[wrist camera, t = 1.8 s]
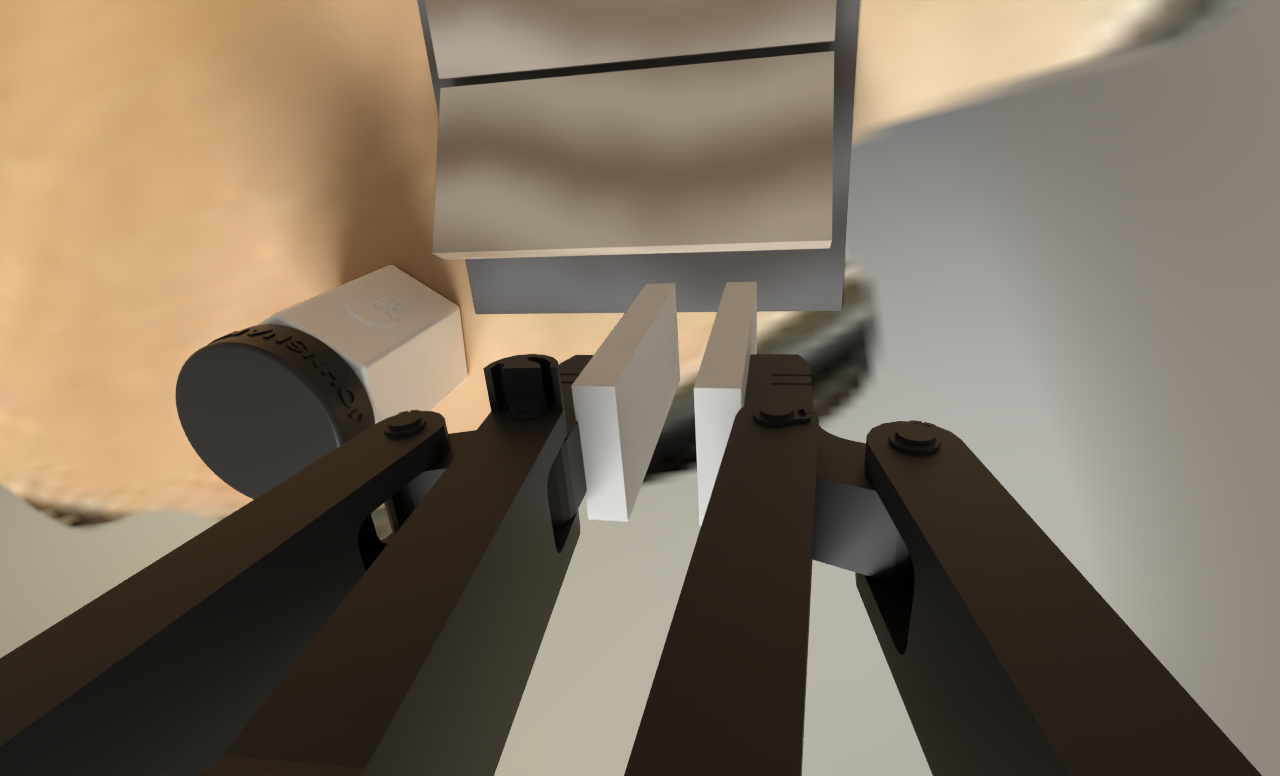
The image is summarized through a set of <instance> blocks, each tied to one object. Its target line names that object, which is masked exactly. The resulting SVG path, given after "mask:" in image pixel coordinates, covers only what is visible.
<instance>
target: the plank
mask: <svg viewBox="0 0 1280 776" xmlns="http://www.w3.org/2000/svg"><path fill="white" fill-rule="evenodd" d="M833 115H834V51H829V52H819V53H808V54H797V55H787V56H776V57H766V58H755V59H744V60H734V61H723V62H712V63H702V64H691V65H680V66H670V67H659V68H648V69H638V70H627V71H616V72H606V73H595V74H584V75H574V76H563V77H553V78H542V79H531V80H521V81H510V82H499V83H489V84H478V85H467V86H457V87H446V88H441V90H440V109H439V129H438V148H437V167H436V187H435V206H434V225H433V245H432V253H433V254H435V255H436V256H438V257H440V258H442V259H444V260H452V259H486V258H520V257H554V256H588V255H621V254H655V253H689V252H723V251H757V250H790V249H824V248H830V246H831V242H832V197H833Z"/></svg>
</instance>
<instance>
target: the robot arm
mask: <svg viewBox="0 0 1280 776" xmlns="http://www.w3.org/2000/svg"><path fill="white" fill-rule="evenodd" d="M484 374H485V379H486V385H487V390H488V395H489V401H490V406H491V413H490V414H489V415H488V416H487V418H486V419H485V420H484V422H483V423H482V424H481V425H480V427H479V428H478V429H477V430H475V431H467V432H460V433H452V434H448V431H447V427H446V422H445V418H444V417H443V416H442V415H441V414H439V413H436V412H432V411H420V410H410V412H409V411H404V412H400V413H398V415H395V416H392V417H388V418H386V419H384V420H382V421H380V422H378V423H376V424H375V425H373V426H371V427H370V428H368V429H367V430H365V431H363V432H362V433H360V434H359V435H357V436H355V437H354V438H352V439H351V440H349V441H347V442H346V443H344V444H343V445H341V446H339V447H338V448H336V449H335V450H333V451H331V452H330V453H328V454H327V455H325V456H323V457H322V458H320V459H319V460H317V461H315V462H314V463H312V464H311V465H309V466H307V467H306V468H304V469H303V470H301V471H299V472H298V473H296V474H295V475H293V476H291V477H290V478H288V479H287V480H285V481H283V482H282V483H280V484H279V485H277V486H275V487H274V488H272V489H271V490H269V491H267V492H266V493H264V494H263V495H261V496H259V497H258V498H256V499H255V500H253V501H251V502H250V503H248V504H247V505H245V506H243V507H242V508H240V509H239V510H237V511H235V512H234V513H232V514H231V515H229V516H227V517H226V518H224V519H223V520H221V521H219V522H218V523H216V524H215V525H213V526H212V527H210V528H208V529H207V530H205V531H203V532H202V533H200V534H199V535H197V536H195V537H194V538H192V539H191V540H189V541H187V542H186V543H184V544H183V545H181V546H179V547H178V548H176V549H175V550H173V551H172V552H170V553H168V554H167V555H165V556H164V557H162V558H160V559H159V560H157V561H156V562H154V563H152V564H151V565H149V566H148V567H146V568H144V569H143V570H141V571H139V572H138V573H136V574H135V575H133V576H131V577H130V578H128V579H127V580H125V581H123V582H122V583H120V584H119V585H117V586H115V587H114V588H112V589H111V590H109V591H108V592H106V593H104V594H103V595H101V596H100V597H98V598H96V599H95V600H93V601H92V602H90V603H88V604H87V605H85V606H83V607H82V608H80V609H79V610H77V611H75V612H74V613H72V614H71V615H69V616H68V617H66V618H64V619H63V620H61V621H59V622H58V623H56V624H55V625H53V626H51V627H50V628H48V629H47V630H45V631H44V632H42V633H41V634H39V635H37V636H36V637H34V638H32V639H31V640H29V641H28V642H26V643H24V644H23V645H21V646H20V647H18V648H16V649H15V650H13V651H12V652H10V653H8V654H7V655H5V656H4V657H2V658H0V776H494V774H495V771H496V768H497V765H498V762H499V760H500V757H501V754H502V751H503V748H504V746H505V742H506V740H507V737H508V734H509V731H510V729H511V726H512V723H513V720H514V718H515V715H516V712H517V709H518V706H519V703H520V701H521V698H522V695H523V692H524V690H525V687H526V684H527V681H528V678H529V675H530V673H531V670H532V667H533V664H534V661H535V659H536V656H537V653H538V650H539V647H540V644H541V642H542V639H543V636H544V633H545V631H546V628H547V625H548V622H549V619H550V616H551V614H552V611H553V608H554V605H555V603H556V600H557V597H558V594H559V591H560V588H561V586H562V583H563V580H564V577H565V574H566V572H567V569H568V566H569V563H570V560H571V557H572V555H573V552H574V549H575V546H576V544H577V541H578V538H579V535H580V521H579V513H578V508H579V506H580V504H581V502H582V500H583V498H584V496H586V504H587V511H588V519H591V520H608V521H623V522H628V520H629V518H630V514H631V512H632V509H633V507H634V504H635V501H636V498H637V496H638V493H639V490H640V488H641V485H642V482H643V479H644V477H645V474H646V471H647V469H648V466H649V463H650V460H651V458H652V455H653V452H654V450H655V447H656V444H657V441H658V439H659V436H660V433H661V430H662V428H663V425H664V422H665V420H666V417H667V414H668V411H669V409H670V406H671V403H672V401H673V398H674V395H675V392H676V390H677V387H678V384H679V381H680V368H679V349H678V330H677V310H676V291H675V283H667V284H646V285H645V287H644V288H643V289H642V291H641V292H640V293H639V295H638V296H637V297H636V299H635V300H634V302H633V303H632V304H631V306H630V307H629V308H628V310H627V311H626V312H625V314H624V315H623V316H622V318H621V319H620V321H619V322H618V323H617V325H616V326H615V327H614V329H613V330H612V331H611V333H610V334H609V335H608V337H607V338H606V340H605V341H604V342H603V344H602V345H601V346H600V348H599V349H598V350H597V352H596V353H595V354H594V355H575V356H573V357H572V358H570V359H568V360H566V361H564V362H562V363H560V364H559V365H558V361H557V360H555V359H554V358H553V357H550V356H546V355H537V354H527V355H517V356H512V357H508V358H503V359H501V360H498V361H496V362H493V363H491V364H489V365H488V366H487V367H485V368H484ZM694 403H695V427H696V450H697V474H698V497H699V521H700V526H701V529H700V532H699V535H698V539H697V542H696V545H695V548H694V552H693V555H692V558H691V561H690V565H689V568H688V571H687V574H686V577H685V581H684V584H683V587H682V590H681V594H680V597H679V600H678V603H677V606H676V610H675V613H674V616H673V620H672V623H671V626H670V629H669V632H668V635H667V639H666V642H665V645H664V649H663V652H662V655H661V658H660V661H659V665H658V668H657V671H656V674H655V678H654V681H653V684H652V687H651V690H650V694H649V697H648V700H647V703H646V707H645V710H644V713H643V716H642V719H641V723H640V726H639V729H638V732H637V736H636V739H635V742H634V745H633V749H632V752H631V755H630V758H629V761H628V765H627V768H626V771H625V775H624V776H802V758H803V738H804V718H805V697H806V677H807V657H808V637H809V635H808V634H809V616H810V596H811V577H812V559H813V560H816V561H820V562H823V563H826V564H830V565H833V566H837V567H840V568H843V569H847V570H850V571H853V572H856V574H855V575H856V585H857V588H858V591H859V593H860V596H861V598H862V601H863V603H864V606H865V608H866V610H867V613H868V615H869V618H870V621H871V623H872V625H873V628H874V630H875V633H876V635H877V638H878V640H879V643H880V645H881V648H882V650H883V653H884V655H885V658H886V660H887V663H888V665H889V668H890V670H891V673H892V675H893V678H894V680H895V683H896V685H897V688H898V690H899V693H900V695H901V698H902V700H903V702H904V705H905V707H906V710H907V712H908V715H909V717H910V719H911V722H912V725H913V727H914V730H915V732H916V735H917V737H918V740H919V742H920V745H921V747H922V749H923V752H924V755H925V757H926V759H927V762H928V765H929V767H930V769H931V772H932V774H933V776H1262V775H1261V774H1260V773H1259V772H1258V771H1257V770H1256V768H1255V767H1254V766H1253V765H1252V764H1251V763H1250V762H1249V761H1248V760H1247V759H1246V757H1245V756H1244V755H1243V754H1242V753H1241V752H1240V751H1239V749H1238V748H1237V747H1236V746H1235V745H1234V744H1233V743H1232V742H1231V741H1230V740H1229V738H1228V737H1227V736H1226V735H1225V734H1224V733H1223V732H1222V730H1221V729H1220V728H1219V727H1218V726H1217V725H1216V724H1215V723H1214V722H1213V720H1212V719H1211V718H1210V717H1209V716H1208V715H1207V714H1206V713H1205V712H1204V710H1203V709H1202V708H1201V707H1200V706H1199V705H1198V704H1197V703H1196V702H1195V701H1194V699H1193V698H1192V697H1191V696H1190V695H1189V694H1188V693H1187V691H1186V690H1185V689H1184V688H1183V687H1182V686H1181V685H1180V684H1179V682H1178V681H1177V680H1176V679H1175V678H1174V677H1173V676H1172V675H1171V674H1170V672H1169V671H1168V670H1167V669H1166V668H1165V667H1164V666H1163V665H1162V664H1161V662H1160V661H1159V660H1158V659H1157V658H1156V657H1155V656H1154V655H1153V653H1152V652H1151V651H1150V650H1149V649H1148V648H1147V647H1146V646H1145V645H1144V643H1143V642H1142V641H1141V640H1140V639H1139V638H1138V637H1137V636H1136V635H1135V633H1134V632H1133V631H1132V630H1131V629H1130V628H1129V627H1128V625H1126V623H1125V622H1124V621H1123V620H1122V619H1121V618H1120V617H1119V615H1118V614H1117V613H1116V612H1115V611H1114V610H1113V609H1112V608H1111V607H1110V605H1109V604H1108V603H1107V602H1106V601H1105V600H1104V599H1103V598H1102V596H1101V595H1100V594H1099V593H1098V592H1097V591H1096V590H1095V589H1094V588H1093V586H1092V585H1091V584H1090V583H1089V582H1088V581H1087V580H1086V579H1085V577H1084V576H1083V575H1082V574H1081V573H1080V572H1079V571H1078V570H1077V569H1076V567H1075V566H1074V565H1073V564H1072V563H1071V562H1070V561H1069V560H1068V559H1067V557H1066V556H1065V555H1064V554H1063V553H1062V552H1061V551H1060V549H1059V548H1058V547H1057V546H1056V545H1055V544H1054V543H1053V542H1052V541H1051V539H1050V538H1049V537H1048V536H1047V535H1046V534H1045V533H1044V532H1043V530H1042V529H1041V528H1040V527H1039V526H1038V525H1037V524H1036V523H1035V522H1034V520H1033V519H1032V518H1031V517H1030V516H1029V515H1028V514H1027V513H1026V511H1024V509H1023V508H1022V507H1021V506H1020V505H1019V504H1018V503H1017V501H1016V500H1015V499H1014V498H1013V497H1012V496H1011V495H1010V494H1009V493H1008V491H1007V490H1006V489H1005V488H1004V487H1003V486H1002V485H1001V484H1000V482H999V481H998V480H997V479H996V478H995V477H994V476H993V475H992V473H991V472H990V471H989V470H988V469H987V468H986V467H985V466H984V465H983V464H982V462H981V461H980V460H979V459H978V458H977V457H976V456H975V454H974V453H973V452H972V451H971V450H970V449H969V448H968V447H967V446H966V444H965V443H964V442H963V441H962V440H961V439H960V438H958V437H957V436H956V435H954V434H953V433H952V432H950V431H947V430H945V429H943V428H940V427H937V426H935V425H934V424H930V423H926V422H924V423H922V422H921V421H909V422H906V421H898V422H891V423H884V424H881V425H879V426H877V427H875V428H872V429H871V431H870V432H869V433H868V435H867V441H866V444H865V443H860V442H855V441H851V440H846V439H843V438H839V437H837V436H834V435H832V434H830V433H828V432H826V431H825V430H823V429H822V428H821V427H820V426H819V419H818V416H817V414H816V412H815V411H814V406H813V396H812V386H811V377H810V365H809V363H808V362H807V361H805V360H804V359H803V358H802V357H801V356H799V355H788V354H757V282H727V283H726V286H725V289H724V292H723V295H722V299H721V302H720V305H719V308H718V312H717V315H716V318H715V321H714V325H713V328H712V331H711V334H710V337H709V341H708V344H707V347H706V350H705V354H704V357H703V360H702V363H701V366H700V370H699V373H698V376H697V379H696V383H695V386H694ZM383 503H384V504H385V507H386V511H387V514H388V518H389V522H390V525H391V529H392V532H393V533H391V534H390V535H389V536H388V537H387V538H385V539H383V540H381V541H380V539H379V538H378V536H377V534H376V530H375V527H374V523H373V520H372V517H371V513H372V512H373V511H374V510H375V509H377V508H378V507H379V506H381V505H382V504H383Z"/></svg>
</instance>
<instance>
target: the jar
mask: <svg viewBox="0 0 1280 776" xmlns="http://www.w3.org/2000/svg"><path fill="white" fill-rule="evenodd" d="M467 378H468V374H467V366H466V358H465V349H464V341H463V333H462V324H461V316H460V308H459V307H458V306H457V305H456V304H454V303H453V302H451V301H450V300H448V299H446V298H445V297H443V296H442V295H440V294H438V293H437V292H435V291H434V290H432V289H430V288H429V287H427V286H426V285H424V284H422V283H421V282H419V281H418V280H416V279H414V278H413V277H411V276H410V275H408V274H406V273H405V272H403V271H402V270H400V269H398V268H397V267H395V266H393V265H388V266H385V267H383V268H381V269H378V270H376V271H374V272H371V273H369V274H366V275H364V276H362V277H359V278H357V279H355V280H352V281H350V282H348V283H345V284H343V285H341V286H338V287H336V288H333V289H331V290H329V291H326V292H324V293H322V294H319V295H317V296H315V297H312V298H310V299H307V300H305V301H303V302H300V303H298V304H296V305H293V306H291V307H288V308H286V309H284V310H281V311H279V312H277V313H275V314H273V315H272V316H270V317H269V318H267V319H266V320H264V321H263V322H261V323H260V324H258V325H256V326H252V327H249V328H247V329H244V330H241V331H235V332H232V333H230V334H228V335H225V336H223V337H221V338H218V339H216V340H214V341H213V342H211V343H210V344H208V345H207V346H205V347H203V348H201V349H199V350H198V351H196V352H195V353H194V354H193V355H191V356H190V357H189V358H188V360H187V361H186V362H185V364H184V365H183V367H182V369H181V371H180V373H179V376H178V380H177V384H176V406H177V412H178V415H179V419H180V422H181V425H182V427H183V430H184V432H185V434H186V436H187V438H188V440H189V442H190V443H191V445H192V447H193V448H194V450H195V451H196V453H197V454H198V455H199V457H200V458H201V459H202V460H203V462H204V463H205V464H206V465H207V466H208V467H209V468H210V469H211V470H212V471H213V472H214V473H215V474H216V475H217V476H218V477H219V478H221V479H222V480H223V481H224V482H225V483H227V484H228V485H230V486H231V487H232V488H234V489H235V490H237V491H239V492H240V493H242V494H244V495H246V496H248V497H250V498H252V499H254V500H255V499H256V498H258V497H259V496H261V495H263V494H264V493H266V492H267V491H269V490H271V489H272V488H274V487H275V486H277V485H279V484H280V483H282V482H283V481H285V480H287V479H288V478H290V477H291V476H293V475H295V474H296V473H298V472H299V471H301V470H303V469H304V468H306V467H307V466H309V465H311V464H312V463H314V462H315V461H317V460H319V459H320V458H322V457H323V456H325V455H327V454H328V453H330V452H331V451H333V450H335V449H336V448H338V447H339V446H341V445H343V444H344V443H346V442H347V441H349V440H351V439H352V438H354V437H355V436H357V435H359V434H360V433H362V432H363V431H365V430H367V429H368V428H370V427H371V426H373V425H375V424H376V423H378V422H380V421H382V420H384V419H386V418H388V417H392V416H395V415H398V413H400V412H404V411H409V412H410V410H420V411H432V410H433V409H434V408H435V407H436V406H438V405H439V404H440V403H441V402H442V401H443V400H444V399H445V398H447V397H448V396H449V395H450V394H451V393H452V392H453V391H454V390H456V389H457V388H458V387H459V386H460V385H461V384H462V383H463V382H465V381H466V380H467Z"/></svg>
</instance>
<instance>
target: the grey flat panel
mask: <svg viewBox="0 0 1280 776" xmlns="http://www.w3.org/2000/svg"><path fill="white" fill-rule="evenodd" d="M417 1H418V7H419V12H420V17H421V23H422V28H423V34H424V39H425V44H426V50H427V55H428V60H429V66H430V71H431V77H432V82H433V87H434V93H435V98H436V104H437V109H438V114H439V109H440V90H441V88H446V87H457V86H467V85H478V84H489V83H499V82H510V81H521V80H531V79H542V78H553V77H563V76H574V75H584V74H595V73H606V72H616V71H627V70H638V69H648V68H659V67H670V66H680V65H691V64H702V63H712V62H723V61H734V60H744V59H755V58H766V57H776V56H787V55H797V54H808V53H819V52H829V51H834V115H833V197H832V242H831V246H830V248H824V249H790V250H757V251H723V252H689V253H655V254H621V255H588V256H554V257H520V258H486V259H465V260H466V265H467V271H468V276H469V281H470V287H471V292H472V297H473V303H474V308H475V314H527V313H625V312H626V311H627V310H628V308H629V307H630V306H631V304H632V303H633V302H634V300H635V299H636V297H637V296H638V295H639V293H640V292H641V291H642V289H643V288H644V287H645V285H646V284H667V283H675V291H676V310H677V312H718V308H719V305H720V302H721V299H722V295H723V292H724V289H725V286H726V283H727V282H757V311H842V294H843V277H844V260H845V242H846V225H847V207H848V190H849V173H850V156H851V139H852V121H853V104H854V87H855V70H856V52H857V35H858V18H859V0H417Z"/></svg>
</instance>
